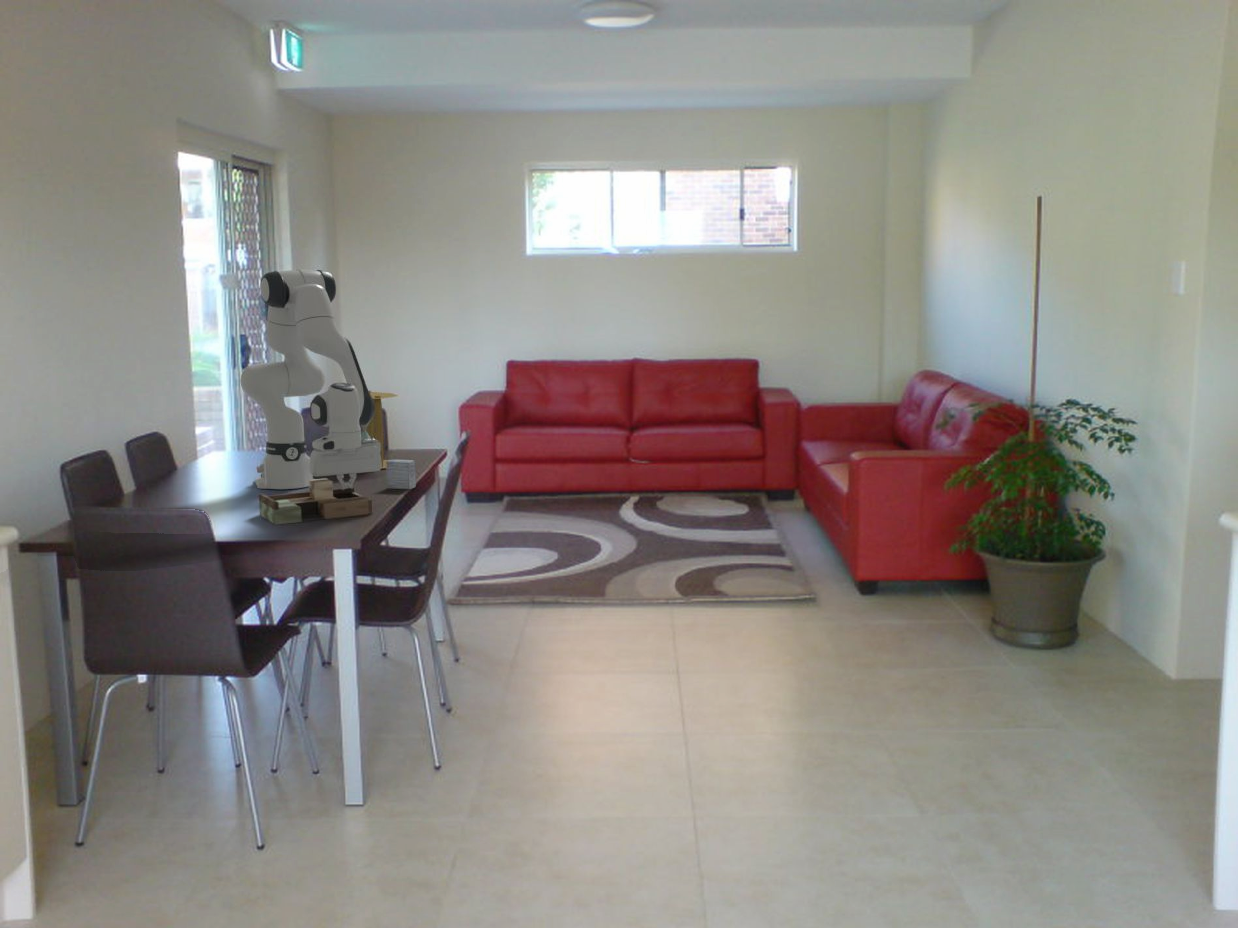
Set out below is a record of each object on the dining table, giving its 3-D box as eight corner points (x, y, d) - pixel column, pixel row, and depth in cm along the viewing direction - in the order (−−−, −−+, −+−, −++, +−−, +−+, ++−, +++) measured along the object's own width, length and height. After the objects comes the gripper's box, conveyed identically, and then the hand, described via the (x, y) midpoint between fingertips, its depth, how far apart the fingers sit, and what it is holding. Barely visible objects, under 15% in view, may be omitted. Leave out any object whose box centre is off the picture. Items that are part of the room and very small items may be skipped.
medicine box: (416, 487, 371) (415, 460, 370) (409, 490, 367) (409, 462, 366) (393, 486, 373) (392, 459, 372) (386, 488, 369) (385, 461, 368)
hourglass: (319, 465, 413) (317, 393, 409) (374, 458, 429) (372, 389, 424) (356, 473, 396) (354, 399, 392) (412, 465, 412) (410, 394, 408)
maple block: (309, 497, 334) (309, 479, 333) (327, 495, 336) (326, 478, 335) (315, 500, 330) (314, 482, 329) (333, 498, 332) (332, 480, 331)
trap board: (259, 514, 329) (258, 493, 328) (353, 504, 344) (352, 484, 343) (275, 524, 317) (274, 502, 316) (372, 513, 331) (371, 492, 330)
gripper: (376, 437, 342) (377, 484, 345) (306, 442, 332) (308, 491, 334) (384, 439, 337) (385, 487, 339) (313, 445, 326) (315, 494, 329)
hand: (347, 489), depth 337 cm, fingers closed
